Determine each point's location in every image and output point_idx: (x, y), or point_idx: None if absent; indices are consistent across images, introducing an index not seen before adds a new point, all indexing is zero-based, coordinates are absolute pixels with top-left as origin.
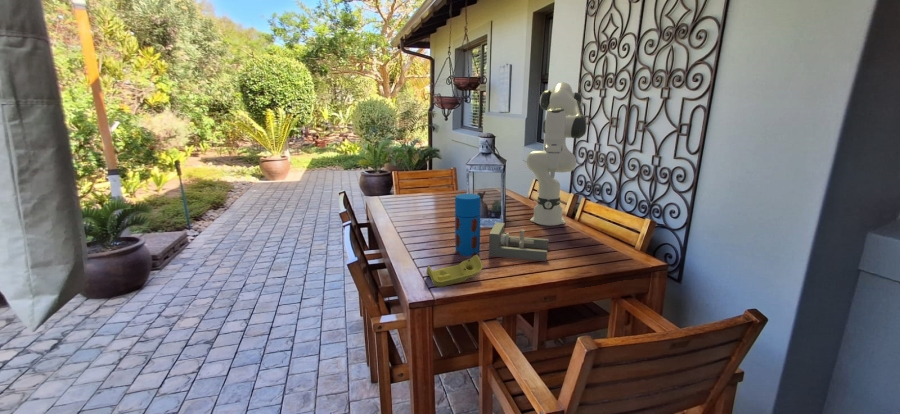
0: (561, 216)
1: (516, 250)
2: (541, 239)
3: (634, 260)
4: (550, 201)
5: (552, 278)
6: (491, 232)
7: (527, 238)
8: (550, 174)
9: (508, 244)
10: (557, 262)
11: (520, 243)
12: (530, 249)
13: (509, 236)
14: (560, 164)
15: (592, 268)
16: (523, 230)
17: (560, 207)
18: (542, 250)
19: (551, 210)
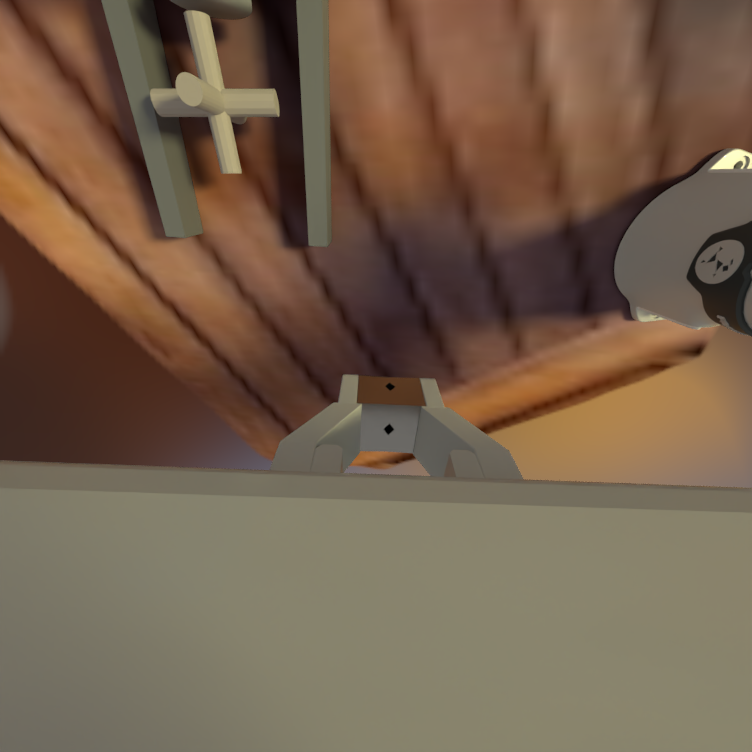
0: (658, 314)
1: (126, 79)
2: (314, 214)
3: None
4: (732, 280)
5: (50, 249)
6: None
7: (309, 138)
8: (339, 399)
9: (236, 17)
10: (194, 270)
11: (151, 95)
12: (159, 159)
13: (313, 6)
14: None
15: (197, 362)
16: (186, 97)
17: (702, 323)
18: (175, 217)
19: (682, 275)
